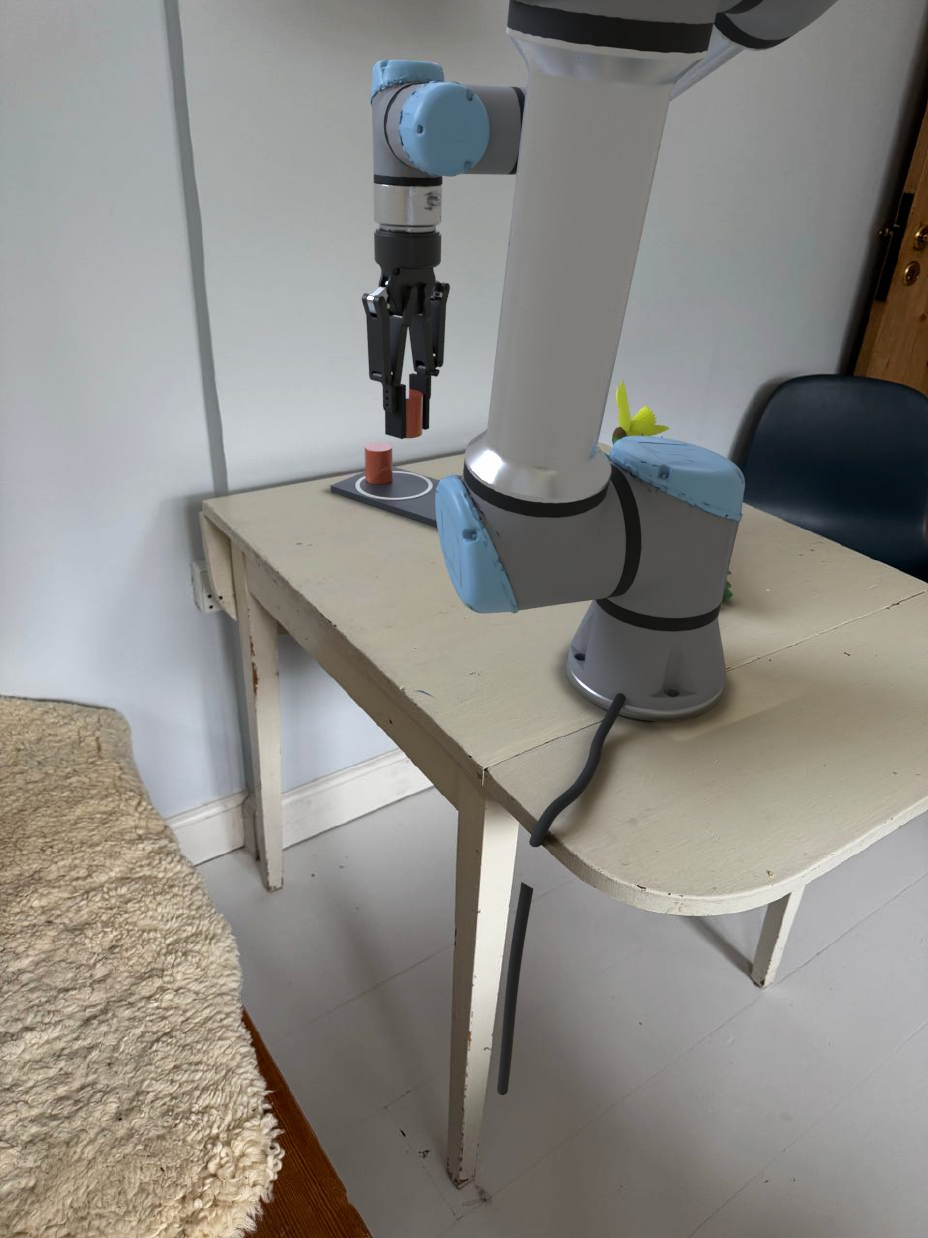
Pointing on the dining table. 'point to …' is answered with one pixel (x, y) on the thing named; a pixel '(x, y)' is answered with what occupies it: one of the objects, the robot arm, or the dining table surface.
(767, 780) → the dining table surface
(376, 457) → the short coral cylinder
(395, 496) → the slate board
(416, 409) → the red cylinder block
